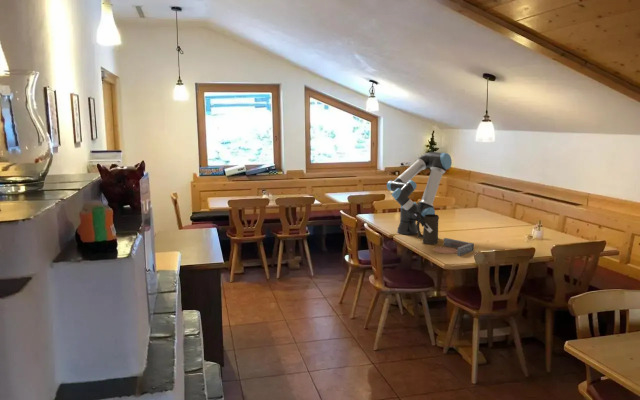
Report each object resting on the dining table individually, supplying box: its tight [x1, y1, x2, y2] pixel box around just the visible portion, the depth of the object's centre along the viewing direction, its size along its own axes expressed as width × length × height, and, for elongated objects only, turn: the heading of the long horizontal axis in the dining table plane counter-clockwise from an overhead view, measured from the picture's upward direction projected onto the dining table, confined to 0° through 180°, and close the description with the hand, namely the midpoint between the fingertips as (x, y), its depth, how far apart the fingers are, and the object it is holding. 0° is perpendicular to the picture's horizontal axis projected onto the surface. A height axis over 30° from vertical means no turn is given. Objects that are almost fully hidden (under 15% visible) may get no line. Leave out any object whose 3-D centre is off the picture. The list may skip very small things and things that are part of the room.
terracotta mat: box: [433, 246, 458, 255], centre depth 334 cm, size 16×16×1 cm
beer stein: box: [416, 214, 440, 246], centre depth 352 cm, size 15×11×20 cm
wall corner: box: [443, 237, 475, 257], centre depth 335 cm, size 18×21×5 cm
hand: (430, 229), depth 352 cm, fingers open, 13 cm apart
